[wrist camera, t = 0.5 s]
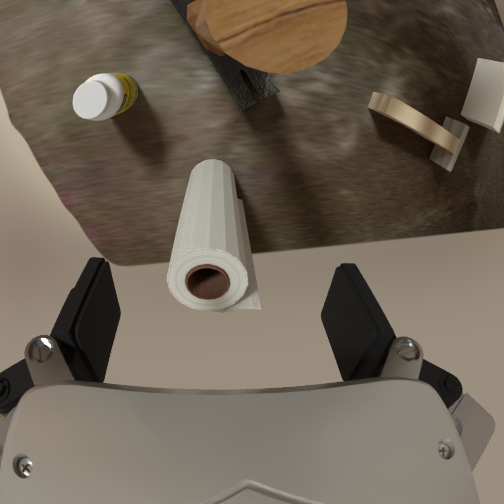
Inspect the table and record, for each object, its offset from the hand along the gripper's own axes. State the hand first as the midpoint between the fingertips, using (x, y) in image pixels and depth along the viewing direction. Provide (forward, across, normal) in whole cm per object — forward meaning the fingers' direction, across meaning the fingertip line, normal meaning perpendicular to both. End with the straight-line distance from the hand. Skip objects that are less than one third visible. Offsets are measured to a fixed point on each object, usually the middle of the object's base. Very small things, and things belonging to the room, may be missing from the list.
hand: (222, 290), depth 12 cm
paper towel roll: (+29, 0, +6) cm, 30 cm away
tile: (+29, -40, -16) cm, 52 cm away
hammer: (+29, +2, -14) cm, 32 cm away
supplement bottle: (+29, +13, -6) cm, 33 cm away
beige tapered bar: (+29, -26, -7) cm, 40 cm away
